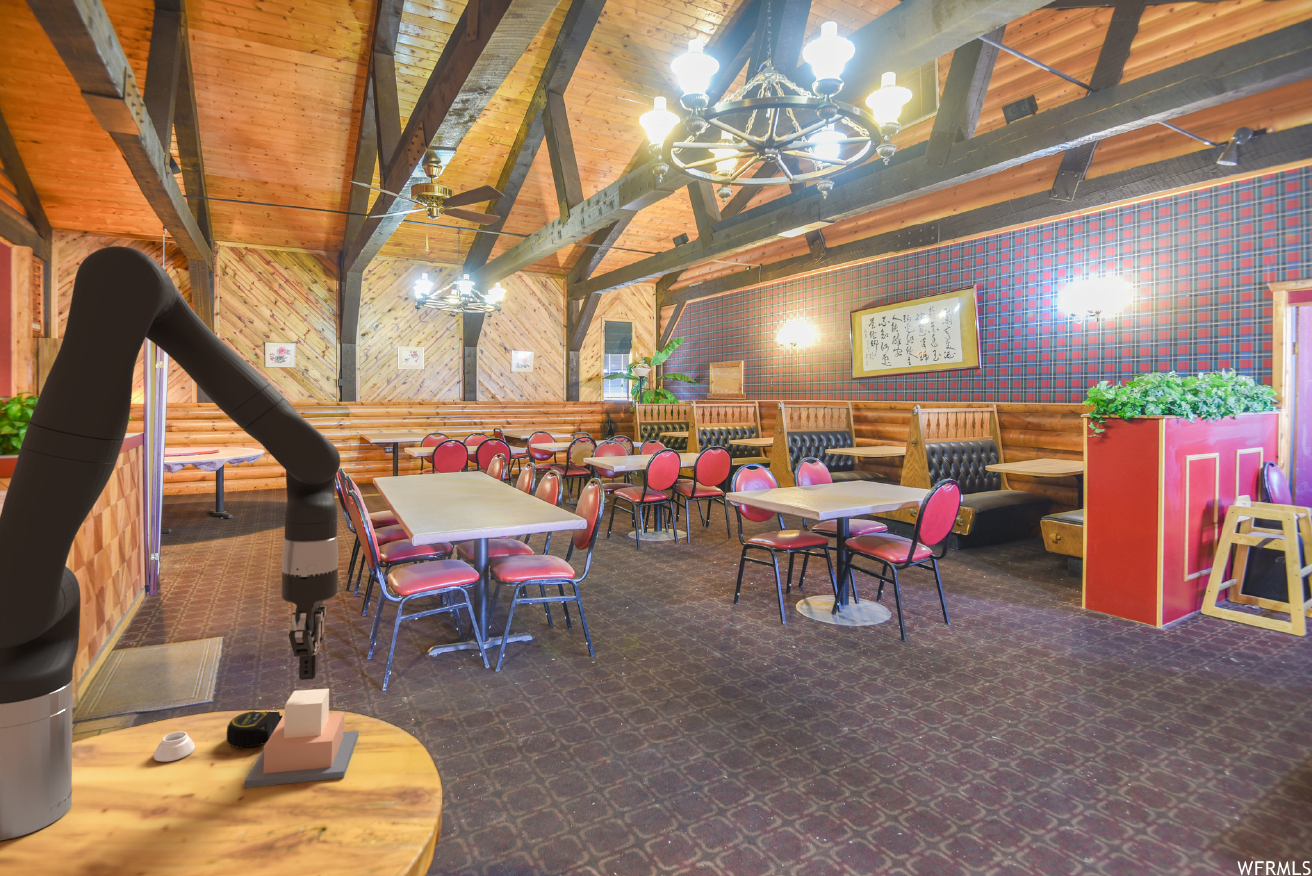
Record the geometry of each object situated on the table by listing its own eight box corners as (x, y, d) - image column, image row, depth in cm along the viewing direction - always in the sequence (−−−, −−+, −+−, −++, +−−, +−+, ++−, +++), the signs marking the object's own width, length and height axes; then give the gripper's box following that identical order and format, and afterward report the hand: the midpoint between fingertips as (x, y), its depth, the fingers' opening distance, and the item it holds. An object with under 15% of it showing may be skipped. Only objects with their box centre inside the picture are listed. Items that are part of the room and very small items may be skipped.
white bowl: (200, 745, 101) (164, 747, 100) (200, 727, 101) (164, 729, 100) (184, 762, 96) (146, 765, 95) (185, 743, 96) (147, 746, 95)
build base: (244, 787, 91) (244, 753, 90) (270, 743, 102) (271, 713, 102) (343, 777, 94) (344, 745, 94) (358, 736, 106) (359, 707, 105)
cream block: (284, 738, 95) (284, 705, 95) (293, 722, 100) (294, 690, 99) (320, 735, 96) (321, 703, 96) (328, 719, 101) (329, 688, 101)
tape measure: (267, 750, 100) (267, 727, 100) (218, 753, 99) (218, 730, 99) (282, 729, 107) (282, 707, 107) (236, 731, 106) (237, 709, 105)
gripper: (295, 556, 102) (293, 662, 103) (269, 579, 89) (267, 699, 90) (346, 555, 104) (343, 659, 105) (327, 577, 91) (325, 695, 92)
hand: (308, 677), depth 98 cm, fingers closed
